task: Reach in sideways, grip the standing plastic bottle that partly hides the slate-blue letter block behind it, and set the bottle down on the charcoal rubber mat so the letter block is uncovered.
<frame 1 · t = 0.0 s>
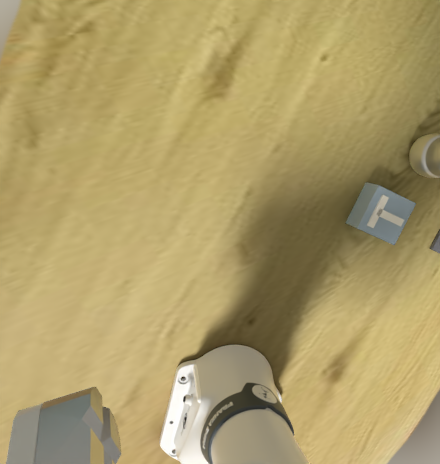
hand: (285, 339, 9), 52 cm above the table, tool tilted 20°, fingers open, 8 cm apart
letter block: (372, 210, 67), on the table
plastic bottle: (421, 154, 66), on the table
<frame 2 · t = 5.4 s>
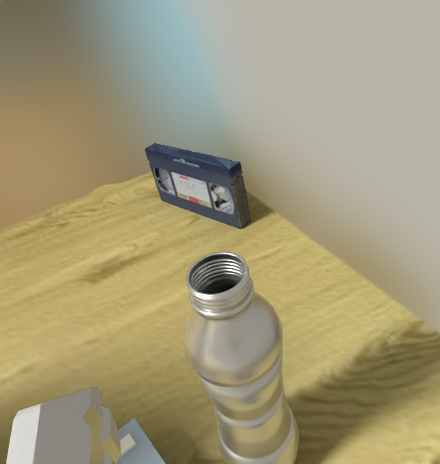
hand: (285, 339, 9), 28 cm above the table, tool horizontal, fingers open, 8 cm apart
vhs cassette tape: (203, 211, 68), on the table
plastic bottle: (262, 452, 35), on the table
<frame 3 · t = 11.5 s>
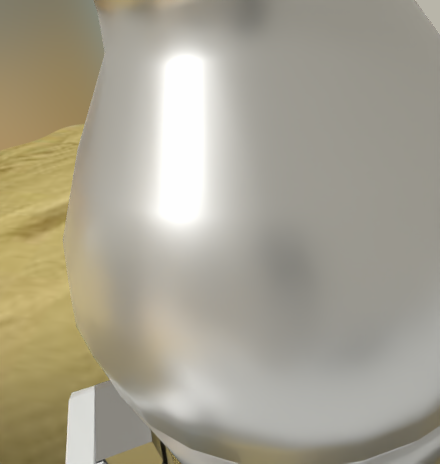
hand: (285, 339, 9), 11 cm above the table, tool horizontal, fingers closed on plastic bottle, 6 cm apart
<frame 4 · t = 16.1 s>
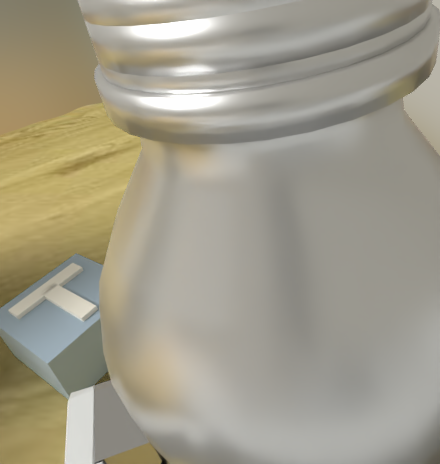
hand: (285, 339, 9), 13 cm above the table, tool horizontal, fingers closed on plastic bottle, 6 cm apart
letter block: (87, 341, 29), on the table
when the fingers open (13 cm above the table, at t = 16.7 s): plastic bottle stays where it is, resting on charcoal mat.
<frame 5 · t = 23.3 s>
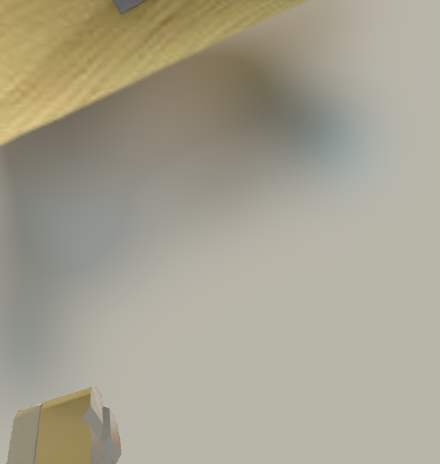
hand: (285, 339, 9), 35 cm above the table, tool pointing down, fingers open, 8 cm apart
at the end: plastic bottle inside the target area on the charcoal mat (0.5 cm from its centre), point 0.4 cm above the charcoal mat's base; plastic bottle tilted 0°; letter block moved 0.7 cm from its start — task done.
